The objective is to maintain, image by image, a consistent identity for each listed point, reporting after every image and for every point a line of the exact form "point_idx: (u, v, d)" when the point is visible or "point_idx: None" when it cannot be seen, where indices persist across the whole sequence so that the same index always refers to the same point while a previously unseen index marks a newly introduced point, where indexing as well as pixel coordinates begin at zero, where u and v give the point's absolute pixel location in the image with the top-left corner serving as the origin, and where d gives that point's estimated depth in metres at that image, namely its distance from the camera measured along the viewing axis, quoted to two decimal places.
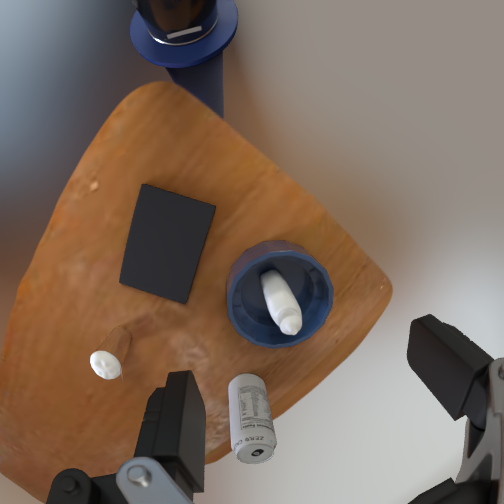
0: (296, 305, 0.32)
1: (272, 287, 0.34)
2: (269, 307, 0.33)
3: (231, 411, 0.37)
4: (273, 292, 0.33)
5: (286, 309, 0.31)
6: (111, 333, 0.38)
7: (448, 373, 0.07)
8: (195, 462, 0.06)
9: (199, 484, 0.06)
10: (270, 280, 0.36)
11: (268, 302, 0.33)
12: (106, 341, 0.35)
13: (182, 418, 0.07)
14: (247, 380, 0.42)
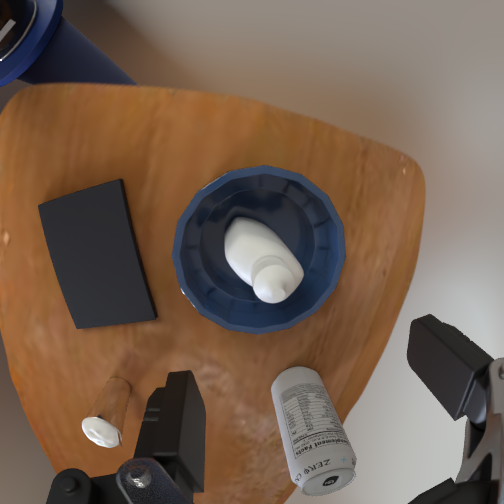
0: (275, 248, 0.19)
1: (230, 240, 0.21)
2: (236, 272, 0.19)
3: (280, 431, 0.25)
4: (230, 246, 0.19)
5: (257, 262, 0.18)
6: (102, 390, 0.28)
7: (448, 373, 0.07)
8: (195, 462, 0.06)
9: (198, 484, 0.06)
10: (230, 232, 0.23)
11: (230, 265, 0.19)
12: (94, 403, 0.25)
13: (182, 418, 0.07)
14: (289, 380, 0.29)
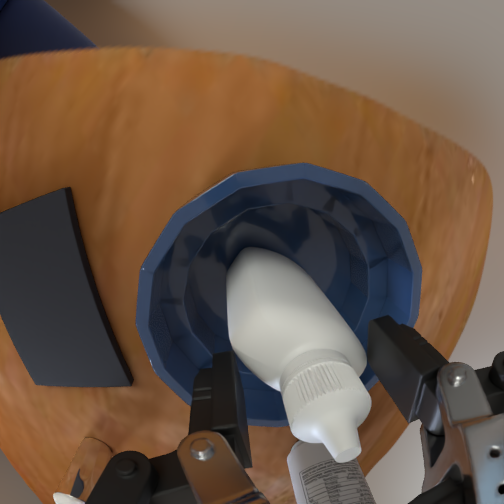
0: (328, 330, 0.09)
1: (237, 304, 0.11)
2: (250, 369, 0.10)
3: None
4: (239, 324, 0.10)
5: (296, 366, 0.08)
6: (75, 454, 0.18)
7: (400, 374, 0.08)
8: (245, 437, 0.07)
9: (249, 458, 0.07)
10: (236, 281, 0.13)
11: (239, 357, 0.10)
12: (66, 472, 0.15)
13: (235, 392, 0.07)
14: (312, 454, 0.19)
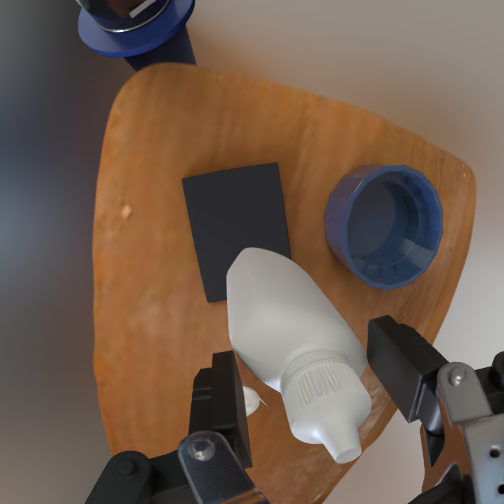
0: (329, 331, 0.09)
1: (238, 305, 0.11)
2: (250, 370, 0.10)
3: None
4: (240, 325, 0.10)
5: (296, 367, 0.08)
6: None
7: (400, 374, 0.08)
8: (245, 436, 0.07)
9: (249, 458, 0.07)
10: (237, 282, 0.13)
11: (240, 358, 0.10)
12: None
13: (235, 392, 0.07)
14: None
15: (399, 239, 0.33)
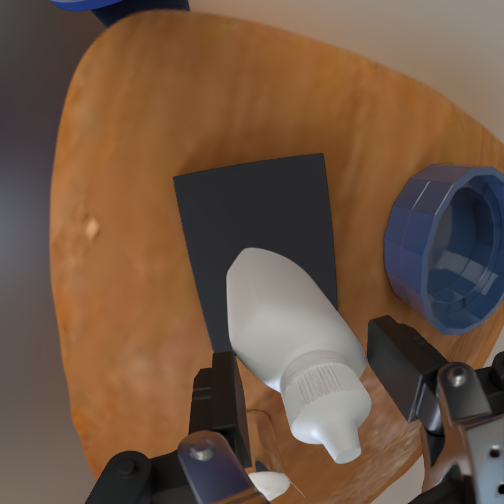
0: (328, 331, 0.09)
1: (238, 305, 0.11)
2: (250, 370, 0.10)
3: None
4: (239, 325, 0.10)
5: (295, 368, 0.08)
6: None
7: (400, 374, 0.08)
8: (245, 437, 0.07)
9: (249, 458, 0.07)
10: (236, 282, 0.13)
11: (240, 359, 0.10)
12: None
13: (235, 392, 0.07)
14: None
15: (465, 262, 0.22)
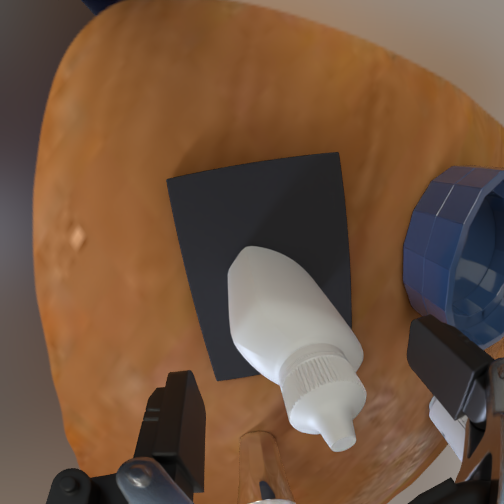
0: (325, 325, 0.10)
1: (239, 301, 0.11)
2: (250, 363, 0.10)
3: (460, 447, 0.17)
4: (240, 319, 0.10)
5: (294, 360, 0.09)
6: (243, 454, 0.20)
7: (448, 373, 0.07)
8: (195, 462, 0.06)
9: (199, 484, 0.06)
10: (237, 279, 0.13)
11: None
12: (246, 476, 0.17)
13: (182, 418, 0.07)
14: None
15: (484, 271, 0.20)
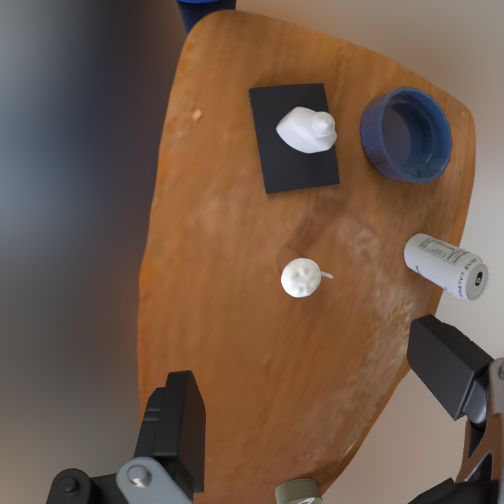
0: None
1: (288, 115, 0.29)
2: (295, 128, 0.27)
3: (429, 266, 0.34)
4: (290, 113, 0.27)
5: (310, 117, 0.26)
6: (280, 254, 0.37)
7: (448, 373, 0.07)
8: (195, 462, 0.06)
9: (199, 484, 0.06)
10: (284, 117, 0.31)
11: (291, 124, 0.27)
12: (285, 257, 0.35)
13: (182, 418, 0.07)
14: (420, 237, 0.38)
15: (418, 154, 0.37)
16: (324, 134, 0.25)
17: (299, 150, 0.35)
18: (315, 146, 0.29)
